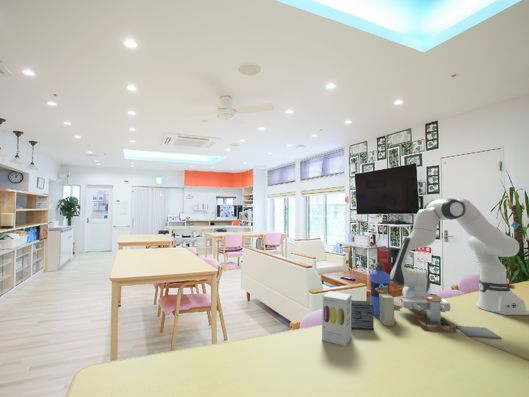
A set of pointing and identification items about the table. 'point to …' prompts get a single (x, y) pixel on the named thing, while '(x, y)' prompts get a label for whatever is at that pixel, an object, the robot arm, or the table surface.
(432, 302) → the copper-capped steel post
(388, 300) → the skincare box
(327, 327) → the supplement box
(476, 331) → the charcoal mat
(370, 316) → the small box
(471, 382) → the table surface
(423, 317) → the brown wooden square frame
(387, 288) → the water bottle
